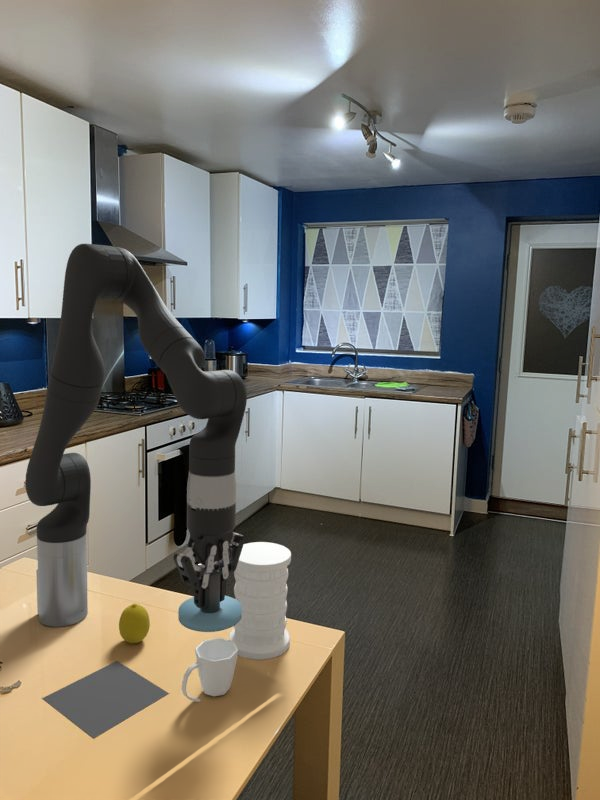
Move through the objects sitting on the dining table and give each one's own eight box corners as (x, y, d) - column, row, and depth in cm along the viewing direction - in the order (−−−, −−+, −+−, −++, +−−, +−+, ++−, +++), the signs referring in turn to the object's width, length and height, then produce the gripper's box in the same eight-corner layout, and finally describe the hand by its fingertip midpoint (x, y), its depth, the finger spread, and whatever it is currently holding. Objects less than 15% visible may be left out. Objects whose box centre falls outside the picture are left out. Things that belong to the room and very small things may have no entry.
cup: (245, 695, 102) (247, 649, 100) (196, 722, 95) (196, 674, 93) (219, 676, 106) (220, 632, 105) (170, 701, 99) (170, 654, 98)
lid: (165, 617, 97) (165, 574, 96) (210, 595, 105) (211, 555, 104) (209, 639, 91) (210, 593, 90) (254, 614, 99) (255, 572, 98)
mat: (42, 701, 98) (42, 698, 98) (117, 663, 109) (116, 660, 109) (93, 742, 90) (93, 738, 89) (169, 696, 100) (169, 693, 100)
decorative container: (279, 664, 111) (282, 569, 108) (219, 652, 114) (221, 560, 111) (296, 632, 122) (300, 546, 119) (241, 622, 125) (244, 537, 122)
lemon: (141, 654, 112) (141, 613, 111) (113, 649, 113) (113, 609, 112) (154, 638, 118) (154, 599, 116) (127, 634, 119) (127, 595, 117)
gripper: (226, 485, 103) (224, 582, 106) (159, 504, 92) (159, 612, 95) (259, 494, 99) (257, 596, 101) (194, 515, 88) (192, 628, 90)
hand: (210, 603), depth 98 cm, fingers closed on lid, 3 cm apart
